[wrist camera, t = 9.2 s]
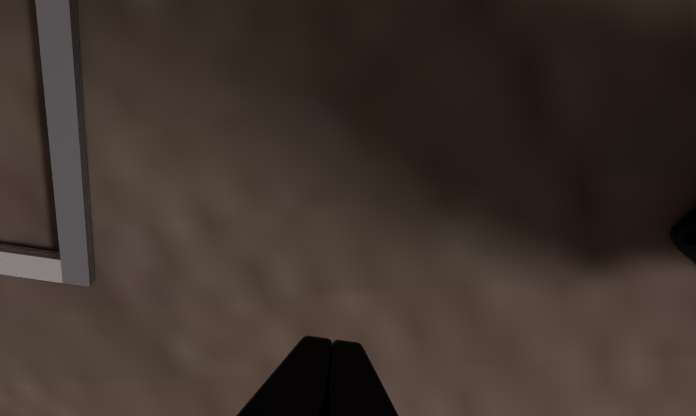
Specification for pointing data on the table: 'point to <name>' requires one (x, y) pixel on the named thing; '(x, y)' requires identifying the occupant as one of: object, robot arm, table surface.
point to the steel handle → (61, 155)
